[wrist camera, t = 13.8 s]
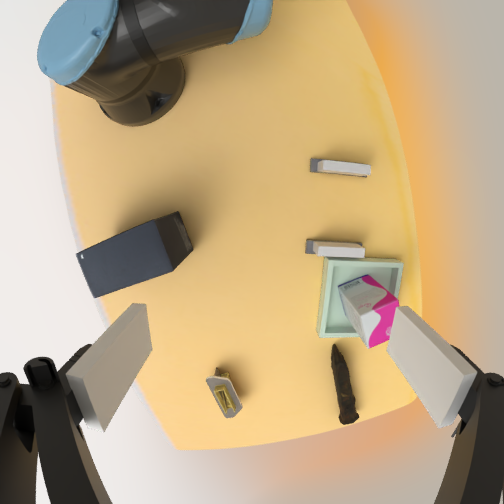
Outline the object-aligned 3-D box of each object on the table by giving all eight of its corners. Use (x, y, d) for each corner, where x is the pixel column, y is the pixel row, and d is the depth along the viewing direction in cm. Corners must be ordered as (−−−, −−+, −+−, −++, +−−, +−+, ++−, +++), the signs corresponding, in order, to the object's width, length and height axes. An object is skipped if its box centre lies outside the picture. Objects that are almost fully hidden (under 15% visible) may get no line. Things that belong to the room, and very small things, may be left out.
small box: (127, 276, 46) (92, 300, 35) (112, 238, 45) (73, 253, 33) (195, 251, 45) (173, 271, 33) (179, 210, 44) (152, 217, 32)
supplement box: (345, 316, 46) (366, 350, 35) (336, 285, 45) (358, 313, 34) (375, 304, 46) (404, 334, 34) (368, 272, 45) (398, 297, 33)
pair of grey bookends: (310, 159, 42) (316, 155, 37) (365, 164, 42) (377, 162, 37) (305, 252, 45) (310, 259, 40) (359, 254, 45) (369, 261, 40)
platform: (243, 334, 48) (241, 354, 42) (272, 407, 52) (273, 429, 45) (181, 349, 49) (171, 369, 43) (216, 417, 53) (212, 439, 46)
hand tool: (355, 409, 52) (361, 423, 47) (337, 415, 52) (342, 429, 47) (347, 338, 48) (354, 351, 43) (326, 344, 48) (331, 358, 44)
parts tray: (324, 255, 45) (328, 260, 42) (395, 258, 45) (403, 262, 42) (316, 329, 47) (319, 337, 44) (383, 327, 47) (389, 335, 44)
